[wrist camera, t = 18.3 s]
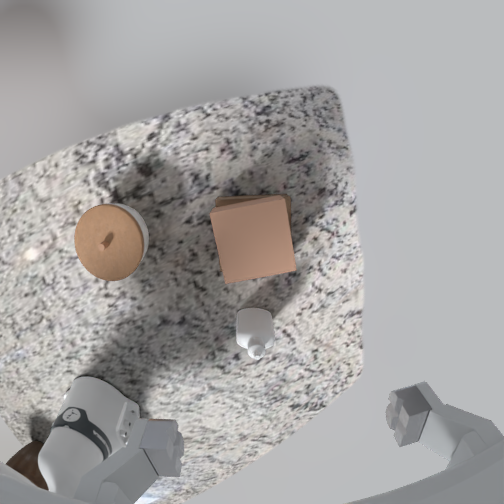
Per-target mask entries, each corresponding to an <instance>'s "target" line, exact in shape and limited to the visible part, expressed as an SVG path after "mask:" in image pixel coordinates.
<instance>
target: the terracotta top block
mask: <svg viewBox="0 0 504 504" xmlns="http://www.w3.org/2000/svg"><path fill="white" fill-rule="evenodd" d="M209 214H210V218H211V223H212V227H213V232H214V236H215V241H216V245H217V250H218V254H219V259H220V263H221V267H222V272H223V276H224V280H225V284H228V283H234V282H239V281H245V280H250V279H255V278H260V277H266V276H271V275H276V274H281V273H286V272H291V271H297V270H296V263H295V257H294V251H293V244H292V238H291V232H290V226H289V220H288V214H287V208H286V203H285V199H284V198H283V197H282V196H281V195H277V196H272V197H267V198H261V199H256V200H251V201H245V202H240V203H235V204H230V205H225V206H220V207H215V208H213V209H212V211H211V212H210V213H209Z"/></svg>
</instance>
